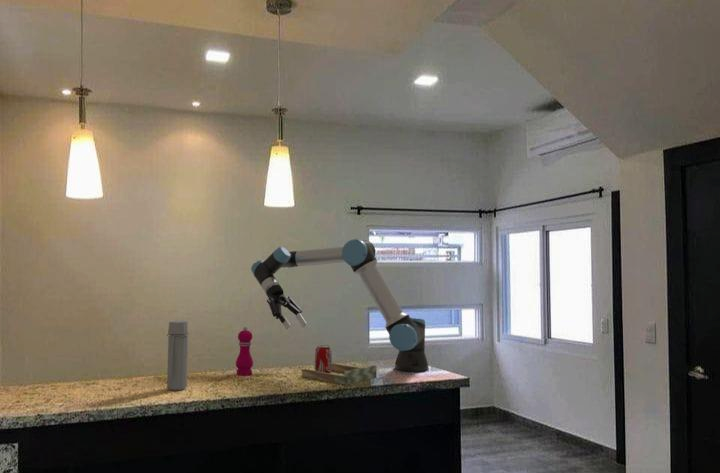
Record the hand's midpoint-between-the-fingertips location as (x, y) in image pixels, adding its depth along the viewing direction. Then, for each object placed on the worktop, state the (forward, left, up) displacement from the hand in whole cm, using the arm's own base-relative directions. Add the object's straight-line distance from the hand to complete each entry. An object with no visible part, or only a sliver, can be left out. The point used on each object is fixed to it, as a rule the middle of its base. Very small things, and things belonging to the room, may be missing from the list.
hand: (296, 326), depth 274 cm
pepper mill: (+23, -8, -19) cm, 31 cm away
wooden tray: (0, +25, -19) cm, 31 cm away
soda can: (0, +16, -19) cm, 25 cm away
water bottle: (+60, -4, -19) cm, 63 cm away
